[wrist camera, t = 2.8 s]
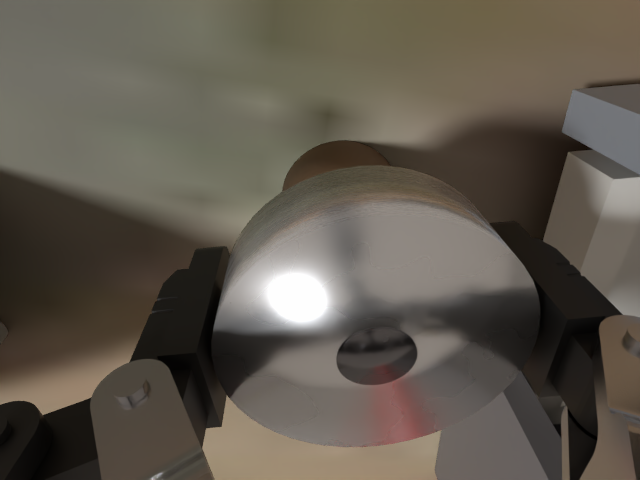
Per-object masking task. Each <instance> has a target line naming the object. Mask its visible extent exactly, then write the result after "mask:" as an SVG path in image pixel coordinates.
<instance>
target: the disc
mask: <svg viewBox="0 0 640 480" xmlns="http://www.w3.org/2000/svg"><path fill="white" fill-rule="evenodd" d="M540 312H541V311H540V304H539V297H538V293H537V290H536V288H535V285H534V282H533V280H532V278H531V276H530V275H529V273H528V271H527V270H526V268H525V266H524V265H523V264H522V263H521V261H520V260H519V259H518V258H517V257H516V255H515V254H514V253H513V252H512V251H511V249H510V248H509V247H508V246H507V244H506V243H505V242H504V241H503V240H502V238H501V237H500V236H499V235H498V234H497V232H496V231H495V230H494V229H493V227H492V226H491V225H490V224H489V223H488V221H487V220H486V219H485V218H484V217H483V215H482V214H481V213H480V212H479V211H478V209H477V208H476V207H475V206H474V205H473V204H472V203H471V202H470V201H469V199H468V198H467V197H465V196H464V195H463V194H461V193H460V192H459V191H458V190H456V189H455V188H454V187H452V186H450V185H449V184H447V183H445V182H443V181H442V180H440V179H438V178H435V177H433V176H430V175H428V174H425V173H422V172H419V171H415V170H411V169H406V168H402V167H393V166H383V165H370V166H355V167H348V168H341V169H337V170H333V171H329V172H326V173H322V174H318V175H316V176H314V177H311V178H309V179H306V180H304V181H301V182H299V183H297V184H295V185H294V186H292V187H290V188H288V189H287V190H285V191H283V192H281V193H280V194H279V195H277V196H276V197H275V198H273V199H272V200H271V201H269V202H268V203H267V204H265V205H264V206H263V207H262V208H261V209H260V210H259V211H258V212H257V213H256V214H255V215H254V216H253V217H252V219H251V220H250V221H249V223H248V224H247V225H246V226H245V228H244V229H243V230H242V232H241V234H240V236H239V237H238V239H237V241H236V243H235V245H234V247H233V250H232V253H231V256H230V258H229V262H228V266H227V270H226V275H225V279H224V284H223V288H222V292H221V297H220V301H219V306H218V310H217V315H216V319H215V323H214V329H213V334H212V340H211V349H212V361H213V365H214V370H215V373H216V375H217V378H218V380H219V382H220V385H221V386H222V388H223V389H224V391H225V392H226V394H227V395H228V397H229V398H230V399H231V400H232V401H233V403H234V404H235V405H236V406H237V407H238V408H239V409H240V410H241V411H243V412H244V413H245V414H246V415H247V416H249V417H250V418H251V419H253V420H254V421H256V422H258V423H259V424H261V425H262V426H264V427H266V428H268V429H270V430H272V431H274V432H276V433H279V434H282V435H284V436H287V437H290V438H293V439H297V440H300V441H304V442H308V443H314V444H320V445H327V446H338V447H366V446H379V445H386V444H393V443H398V442H403V441H408V440H412V439H415V438H419V437H422V436H426V435H429V434H431V433H434V432H437V431H439V430H442V429H444V428H447V427H449V426H451V425H453V424H455V423H458V422H460V421H461V420H463V419H465V418H467V417H469V416H470V415H472V414H474V413H475V412H477V411H478V410H480V409H481V408H483V407H484V406H486V405H487V404H488V403H490V402H491V401H492V400H493V399H495V398H496V397H497V396H498V395H499V394H501V393H502V392H503V391H504V390H505V389H506V388H507V387H508V386H509V385H510V384H511V383H512V381H513V380H514V379H515V378H516V376H517V375H518V374H519V373H520V371H521V370H522V369H523V367H524V365H525V364H526V362H527V360H528V358H529V357H530V355H531V353H532V350H533V348H534V345H535V343H536V340H537V336H538V332H539V327H540Z"/></svg>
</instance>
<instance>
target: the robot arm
mask: <svg viewBox="0 0 640 480" xmlns="http://www.w3.org/2000/svg"><path fill="white" fill-rule="evenodd" d="M489 224H490V225H491V226H492V227H493V229H494V230H495V231H496V232H497V234H498V235H499V236H500V237H501V238H502V240H503V241H504V242H505V243H506V244H507V246H508V247H509V248H510V249H511V251H512V252H513V253H514V254H515V255H516V257H517V258H518V259H519V260H520V261H521V263H522V264H523V265H524V266H525V268H526V270H527V271H528V273H529V275H530V276H531V278H532V280H533V282H534V285H535V288H536V290H537V293H538V297H539V304H540V311H541V312H540V327H539V332H538V336H537V340H536V343H535V345H534V348H533V350H532V353H531V355H530V357H529V358H528V360H527V362H526V364H525V365H524V367H523V369H522V370H523V372H524V374H525V375H526V377H527V379H528V380H529V382H530V384H531V385H532V387H533V389H534V390H535V392H536V394H537V395H538V397H539V398H541V397H552V396H560V397H561V398H562V400H563V401H564V403H565V406H564V409H563V411H562V415H561V435H562V480H640V317H636V316H631V315H623V314H622V313H621V312H620V311H619V310H618V309H617V308H616V307H615V306H614V305H613V304H612V303H611V302H610V301H609V300H608V299H607V298H606V297H605V296H604V295H603V294H602V293H601V292H600V291H599V290H598V289H597V288H596V287H595V286H594V285H593V284H592V283H591V282H590V281H589V280H588V279H587V278H586V277H585V276H581V272H580V271H579V270H578V269H577V268H576V267H575V266H574V265H570V261H569V260H568V259H567V258H565V257H564V256H563V255H562V254H561V253H560V252H559V251H558V250H557V249H556V248H554V247H553V246H551V245H549V244H547V243H545V242H543V241H542V240H540V239H538V238H534V239H532V238H531V236H530V235H529V234H528V233H527V232H526V231H525V230H524V229H523V228H522V227H521V226H520V225H519V224H518V223H517V222H515V221H510V222H499V223H489ZM229 258H230V255H229V251H228V249H227V247H226V246H222V247H211V248H200V249H196V250H195V253H194V255H193V258H192V261H191V264H190V266H189V269H181V270H177V271H176V272H175V273H174V274H173V275H172V276H170V277H169V278H168V279H167V280H166V281H165V282H164V283H163V286H162V288H161V290H160V293H159V295H158V297H157V301H156V302H155V304H154V307H153V309H152V314H150V316H149V318H148V321H147V323H146V325H145V327H144V330H143V332H142V334H141V337H140V339H139V341H138V344H137V346H136V348H135V351H134V353H133V355H132V358H131V360H130V362H129V363H127V364H124V365H122V366H121V367H119V368H117V369H115V370H114V371H112V372H111V373H110V374H109V375H107V376H106V377H105V378H104V379H103V380H102V381H101V382H100V384H99V385H98V386H97V388H96V389H95V391H94V393H93V395H92V397H91V398H89V399H87V400H84V401H82V402H79V403H76V404H73V405H70V406H67V407H65V408H62V409H59V410H56V411H53V412H51V413H48V414H45V415H42V414H41V412H40V411H39V410H38V408H37V407H36V406H35V405H34V404H32V403H30V402H26V401H13V402H8V403H4V404H2V405H0V480H214V477H213V475H212V472H211V470H210V467H209V465H208V462H207V460H206V457H205V455H204V452H203V450H202V446H203V441H204V436H205V430H206V428H213V427H222V420H223V414H224V408H225V402H226V395H227V394H226V392H225V391H224V389H223V388H222V386H221V385H220V382H219V380H218V378H217V375H216V373H215V370H214V365H213V361H212V349H211V340H212V334H213V329H214V323H215V319H216V315H217V310H218V306H219V301H220V297H221V292H222V288H223V284H224V279H225V275H226V270H227V266H228V262H229Z"/></svg>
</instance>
